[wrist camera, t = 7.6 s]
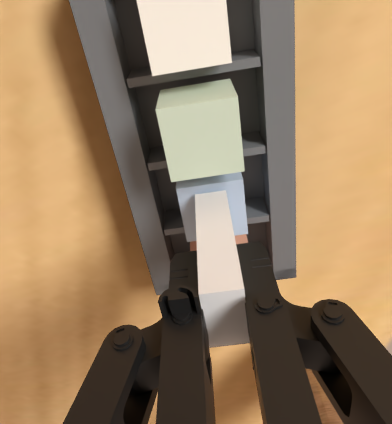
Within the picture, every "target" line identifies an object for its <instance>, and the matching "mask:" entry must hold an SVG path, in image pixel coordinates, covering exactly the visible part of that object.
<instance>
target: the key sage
mask: <svg viewBox="0 0 392 424" xmlns="http://www.w3.org/2000/svg"><path fill="white" fill-rule="evenodd" d="M156 114H157V119H158V124H159V128H160V133H161V138H162V142H163V147H164V151H165V156H166V161H167V165H168V170H169V175H170V179H171V182H176V181H183V180H190V179H196V178H203V177H210V176H217V175H224V174H230V173H237V172H244V171H245V169H244V158H243V147H242V136H241V125H240V114H239V103H238V95H237V93H236V91H235V89H234V86H233V84H232V82H231V80H230V79H224V80H218V81H212V82H206V83H199V84H193V85H187V86H181V87H175V88H169V89H163V90H160V93H159V97H158V101H157V106H156Z"/></svg>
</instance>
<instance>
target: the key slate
mask: <svg viewBox="0 0 392 424" xmlns="http://www.w3.org/2000/svg"><path fill="white" fill-rule="evenodd" d="M223 190H226V193H227V198H228V204H229V209H230V215H231V220H232V225H233V231H234V236H235V235H243V234H248V226H247V215H246V205H245V194H244V184H243V177H242V174H241V172H237V173H230V174H224V175H217V176H210V177H203V178H196V179H190V180H183V181H176V191H177V196H178V201H179V206H180V211H181V215H182V220H183V225H184V230H185V234H186V239H187V242H191V241H197V240H196V213H195V194H202V193H209V192H216V191H223Z"/></svg>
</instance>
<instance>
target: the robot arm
mask: <svg viewBox="0 0 392 424" xmlns="http://www.w3.org/2000/svg"><path fill="white" fill-rule="evenodd" d="M195 213H196V240H197V250H196V251H189V252H181V253H175V255H174V257H173V258H172V260H171V262H170V276H169V279H170V280H169V288H168V289H167V290H165V291H164V292H163V293H162V294H161V295H160V297H159V300H158V303H159V307H160V310H161V313H162V319H161V320H159V321H158V322H157V323H155V324H153V325H151V326H149V327H146V328H144V329H142V330H140V329H139V328H137V327H136V326H133V325H122V326H120V327H117V328H115V329H114V330H113V331H111V332H110V333H109V334H108V335H107V337H106V338H105V340H104V342H103V344H102V346H101V348H100V350H99V352H98V354H97V356H96V358H95V360H94V362H93V364H92V366H91V368H90V370H89V372H88V374H87V376H86V378H85V380H84V382H83V384H82V386H81V388H80V390H79V392H78V394H77V396H76V398H75V400H74V402H73V404H72V406H71V408H70V410H69V412H68V414H67V416H66V418H65V420H64V422H63V424H148V421H149V418H150V415H151V411H152V408H153V405H154V402H155V398H156V395H157V392H158V401H157V416H156V424H216V423H215V409H214V394H213V379H212V364H211V358H210V353H209V347H210V348H211V347H220V346H228V345H237V344H245V343H250V346H251V354H252V363H253V370H254V372H255V378H256V384H257V390H258V396H259V402H260V408H261V414H262V420H263V424H322V422H321V418H320V415H319V412H318V408H317V405H316V402H315V399H314V395H313V392H312V389H311V385H310V382H309V379H308V375H307V372H306V369H311V370H312V373H313V374H314V376H315V377H316V379H317V381H318V382H319V384H320V386H321V387H322V389H323V391H324V392H325V394H326V396H327V397H328V399H329V401H330V402H331V404H332V405H333V407H334V409H335V410H336V412H337V414H338V415H339V417H340V419H341V420H342V422H343V424H392V355H391V354H390V353H389V352H388V351H387V350H386V348H385V347H384V346H383V345H382V344H381V343H380V341H379V340H378V339H377V338H376V337H375V336H374V334H373V333H372V332H371V331H370V330H369V329H368V327H367V326H366V325H365V324H364V323H363V322H362V320H361V319H360V318H359V317H358V316H357V315H356V313H355V312H354V311H353V310H352V309H351V308H350V307H349V306H348V305H346V304H345V303H343V302H340V301H338V300H332V299H327V300H321V301H319V302H317V303H315V304H314V306H313V307H312V308H308V307H301V306H296V305H293V304H291V303H289V302H288V301H286V300H285V299H284V298H283V297H282V296H281V294H280V292H279V289H278V286H277V282H276V279H275V276H274V272H273V269H272V266H271V262H270V259H269V255H268V252H267V249H266V247H264V246H263V245H262V244H261V243H260V242H259V241H257V242H250V243H242V244H236V241H235V236H234V231H233V225H232V220H231V215H230V209H229V204H228V198H227V193H226V190H223V191H216V192H209V193H202V194H195ZM305 368H306V369H305Z"/></svg>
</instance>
